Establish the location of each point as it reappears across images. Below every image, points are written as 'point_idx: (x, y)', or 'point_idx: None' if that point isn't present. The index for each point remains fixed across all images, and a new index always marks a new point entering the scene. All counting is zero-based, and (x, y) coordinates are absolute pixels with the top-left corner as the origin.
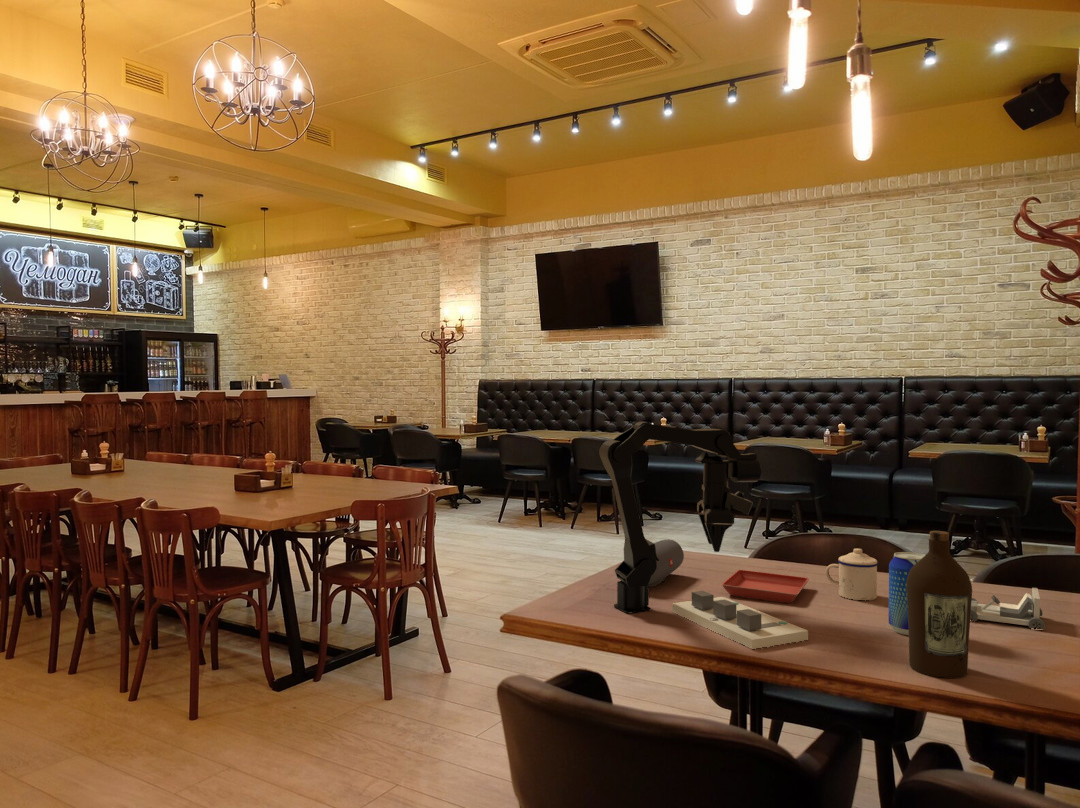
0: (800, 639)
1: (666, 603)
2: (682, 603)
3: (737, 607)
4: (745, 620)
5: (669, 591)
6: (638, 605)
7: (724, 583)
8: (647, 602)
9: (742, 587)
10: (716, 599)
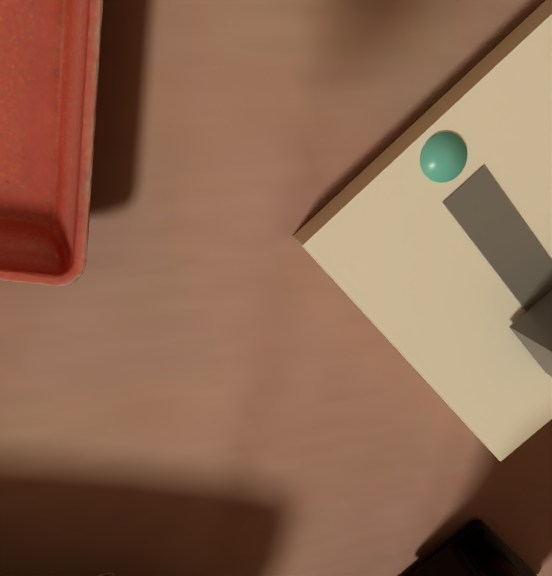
0: None
1: (342, 491)
2: (494, 419)
3: (520, 133)
4: None
5: (112, 533)
6: (519, 573)
7: (29, 271)
8: (461, 557)
9: (94, 130)
10: (377, 271)
